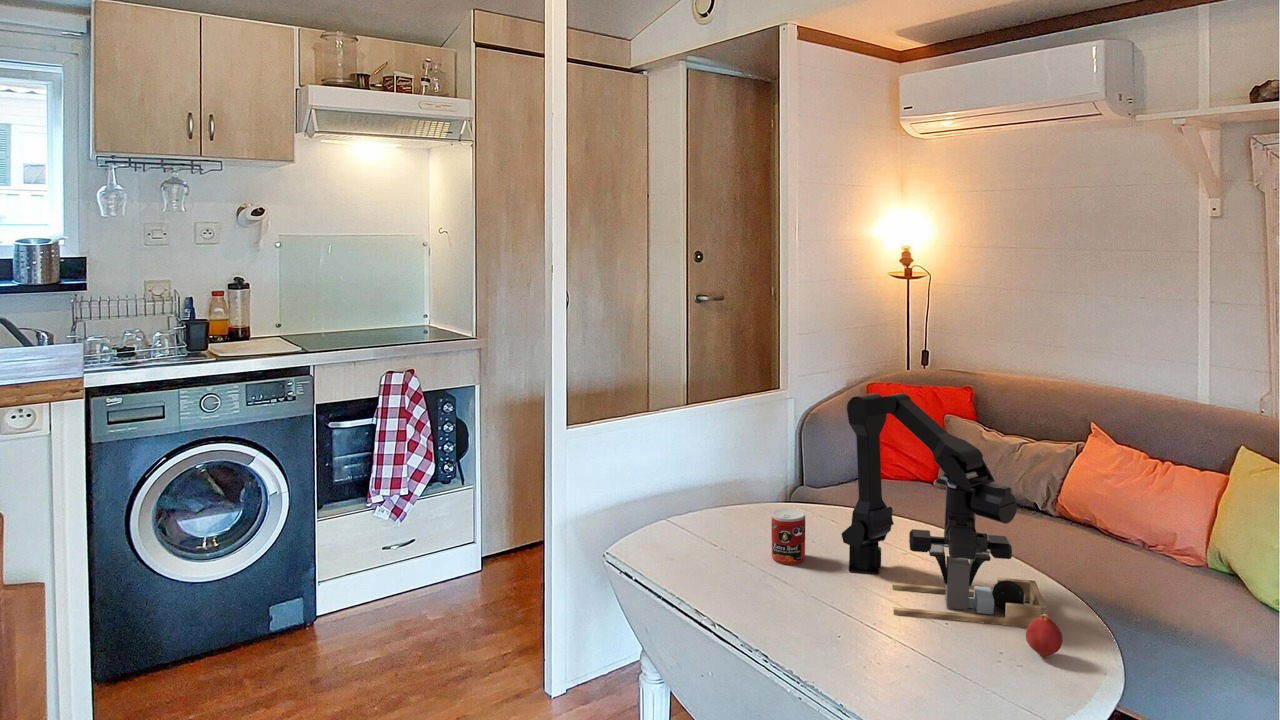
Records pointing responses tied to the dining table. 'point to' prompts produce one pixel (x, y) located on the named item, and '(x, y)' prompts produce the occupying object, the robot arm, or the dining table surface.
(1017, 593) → the billiard ball
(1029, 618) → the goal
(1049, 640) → the onion
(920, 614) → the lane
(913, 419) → the robot arm
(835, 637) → the dining table surface
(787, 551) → the canned food
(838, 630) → the dining table surface
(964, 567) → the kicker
